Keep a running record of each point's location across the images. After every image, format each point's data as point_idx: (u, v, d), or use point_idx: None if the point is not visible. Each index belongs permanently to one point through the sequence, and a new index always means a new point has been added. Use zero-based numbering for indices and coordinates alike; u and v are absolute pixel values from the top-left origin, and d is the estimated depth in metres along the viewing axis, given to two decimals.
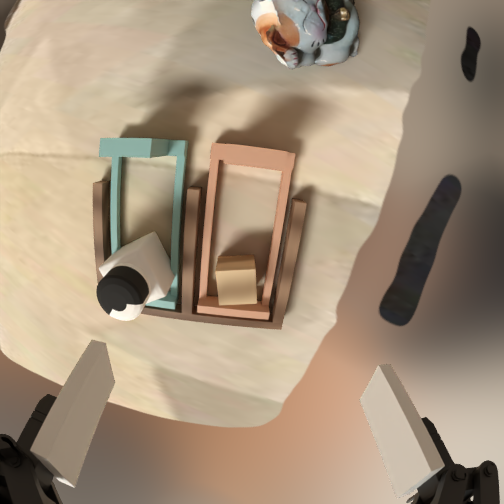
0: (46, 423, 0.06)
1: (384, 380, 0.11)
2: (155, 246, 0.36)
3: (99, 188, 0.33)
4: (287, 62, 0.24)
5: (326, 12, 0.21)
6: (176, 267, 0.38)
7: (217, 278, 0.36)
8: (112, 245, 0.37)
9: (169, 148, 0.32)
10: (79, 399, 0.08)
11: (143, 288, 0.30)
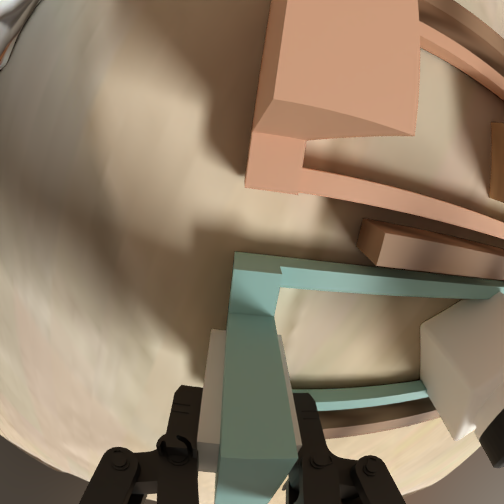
0: (204, 411, 0.09)
1: None
2: (456, 333, 0.13)
3: None
4: None
5: None
6: (492, 288, 0.14)
7: None
8: (416, 397, 0.17)
9: (254, 311, 0.12)
10: None
11: None
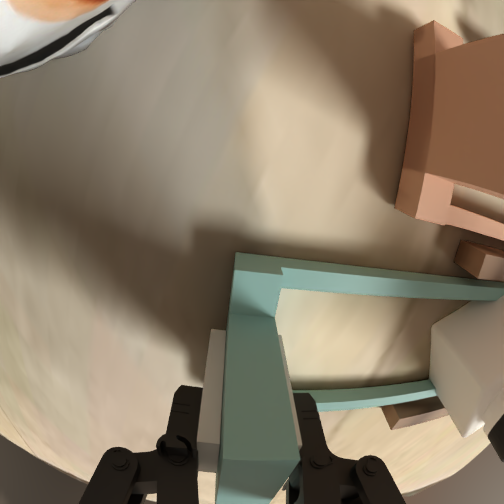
0: (203, 411, 0.09)
1: None
2: (466, 333, 0.14)
3: (403, 420, 0.16)
4: None
5: None
6: (491, 289, 0.14)
7: None
8: (416, 398, 0.17)
9: (255, 312, 0.12)
10: None
11: None
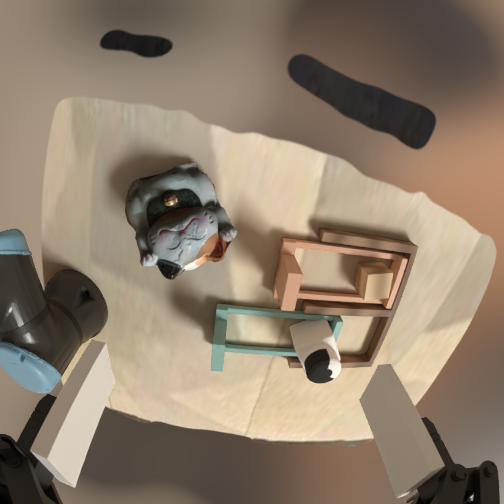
0: (46, 423, 0.06)
1: (383, 380, 0.11)
2: (299, 330, 0.50)
3: (293, 364, 0.53)
4: (233, 237, 0.38)
5: (174, 213, 0.36)
6: (311, 315, 0.50)
7: (369, 299, 0.46)
8: (289, 355, 0.53)
9: (221, 319, 0.49)
10: (79, 399, 0.08)
11: (320, 354, 0.43)
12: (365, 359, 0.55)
